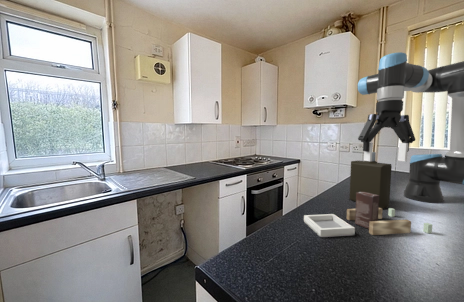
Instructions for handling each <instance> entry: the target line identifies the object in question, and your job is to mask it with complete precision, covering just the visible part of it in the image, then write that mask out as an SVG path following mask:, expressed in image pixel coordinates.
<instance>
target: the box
mask: <svg viewBox="0 0 464 302" xmlns="http://www.w3.org/2000/svg"><path fill="white" fill-rule="evenodd" d="M355 209H356V212H355V220H354V225H358V226H360V227H363V228H366V229H368V230H369V221H379V219H378V211H379V195H375V194H371V193H367V192H357V193H356V202H355Z"/></svg>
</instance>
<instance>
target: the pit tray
mask: <svg viewBox="0 0 464 302" xmlns="http://www.w3.org/2000/svg"><path fill="white" fill-rule="evenodd" d="M303 222H304V223H305V224H306V225H307V226H308V227H309V228H310V229H311V230H312V231H313V232H314V233H315V234H317V236H318V237H320V238H328V237H329V238H331V237H332V238H333V237H346V236H355V235H356V234H355V232H356V227H354V226H353V225H351V224H349V223H347V222H346V221H345V220H343V219H342V218H340V217H338V216H337V215H336V214H334V213H328V214H327V213H326V214H308V215H307V214H304V215H303Z"/></svg>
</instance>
